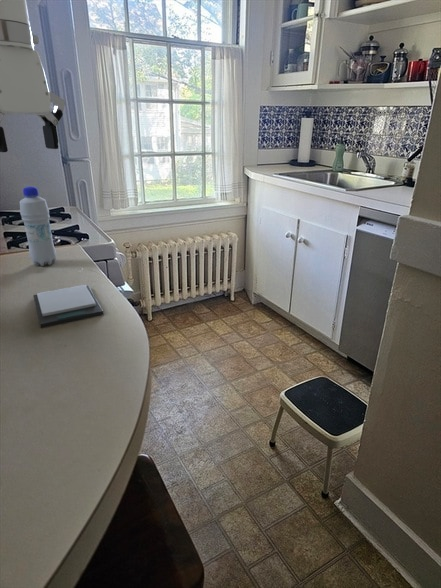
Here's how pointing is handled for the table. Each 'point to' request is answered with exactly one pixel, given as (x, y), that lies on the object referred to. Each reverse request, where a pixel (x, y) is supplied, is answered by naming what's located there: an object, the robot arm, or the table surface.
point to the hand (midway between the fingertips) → (28, 150)
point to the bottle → (37, 227)
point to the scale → (66, 305)
